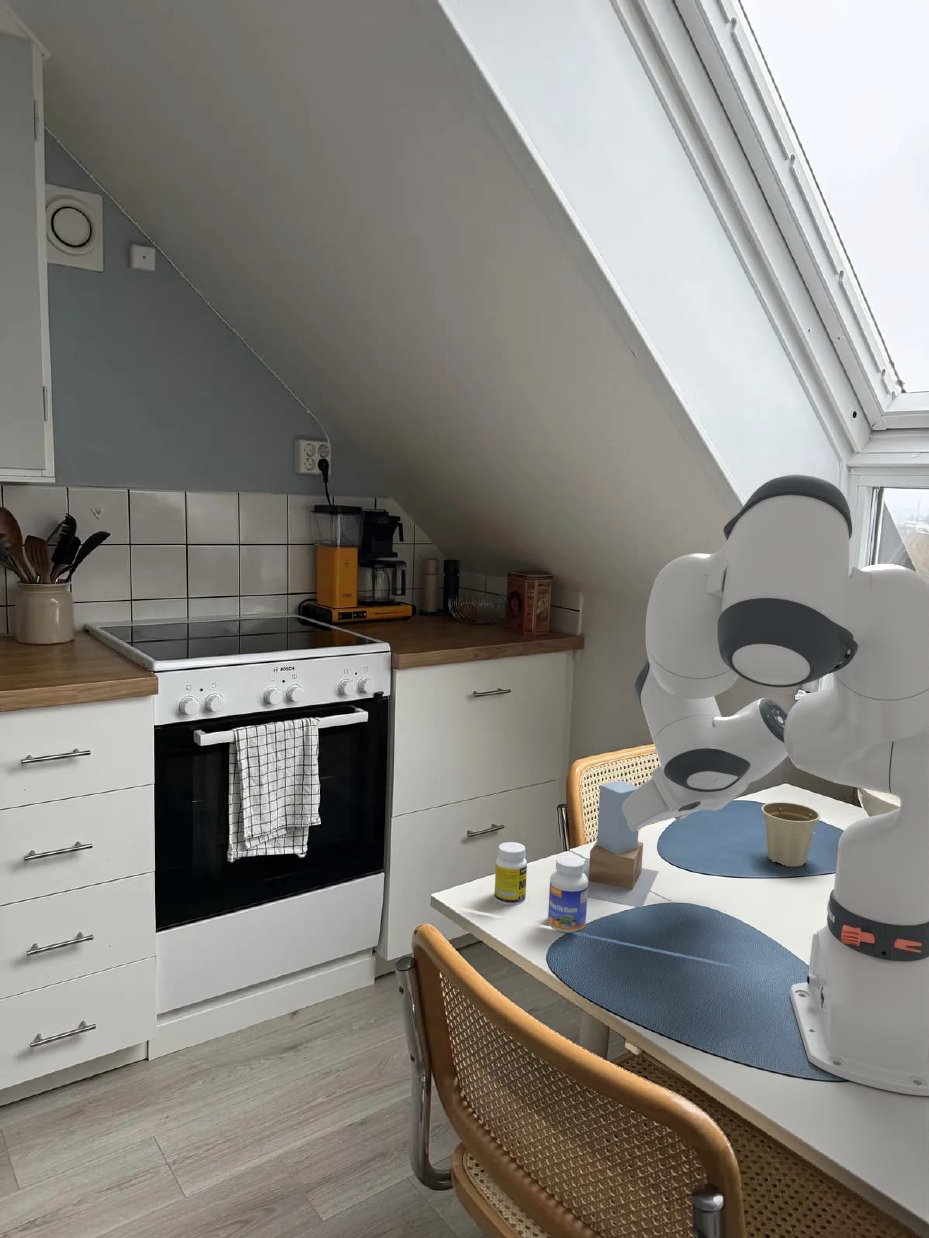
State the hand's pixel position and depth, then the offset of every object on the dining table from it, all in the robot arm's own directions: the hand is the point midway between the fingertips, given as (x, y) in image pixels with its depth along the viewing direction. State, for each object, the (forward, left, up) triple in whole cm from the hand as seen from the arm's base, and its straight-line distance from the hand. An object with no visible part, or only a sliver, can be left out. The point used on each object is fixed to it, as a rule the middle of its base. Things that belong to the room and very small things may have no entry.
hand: (654, 820), depth 141 cm
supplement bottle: (-11, +19, -12) cm, 25 cm away
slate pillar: (+3, +6, -6) cm, 9 cm away
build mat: (+1, +6, -12) cm, 13 cm away
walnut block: (+3, +6, -11) cm, 13 cm away
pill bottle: (-15, +9, -12) cm, 21 cm away
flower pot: (+23, -19, -12) cm, 32 cm away
